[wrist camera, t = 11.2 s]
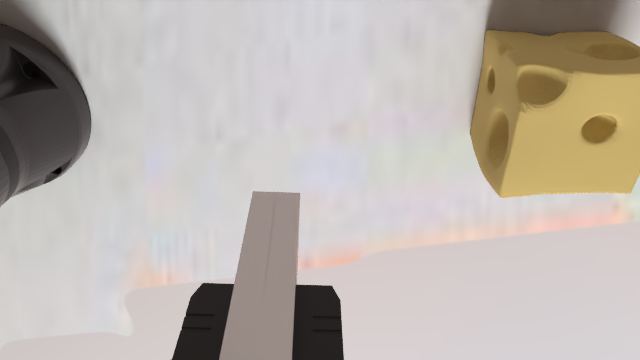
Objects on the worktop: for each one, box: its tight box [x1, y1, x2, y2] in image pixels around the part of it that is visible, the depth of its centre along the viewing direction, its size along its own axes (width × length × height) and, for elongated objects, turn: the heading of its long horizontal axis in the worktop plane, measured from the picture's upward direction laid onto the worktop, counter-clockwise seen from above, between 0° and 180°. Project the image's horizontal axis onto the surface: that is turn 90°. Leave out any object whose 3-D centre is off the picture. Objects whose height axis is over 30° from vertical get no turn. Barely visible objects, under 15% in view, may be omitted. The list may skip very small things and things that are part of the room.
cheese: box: [470, 30, 640, 198], centre depth 36 cm, size 10×11×10 cm
